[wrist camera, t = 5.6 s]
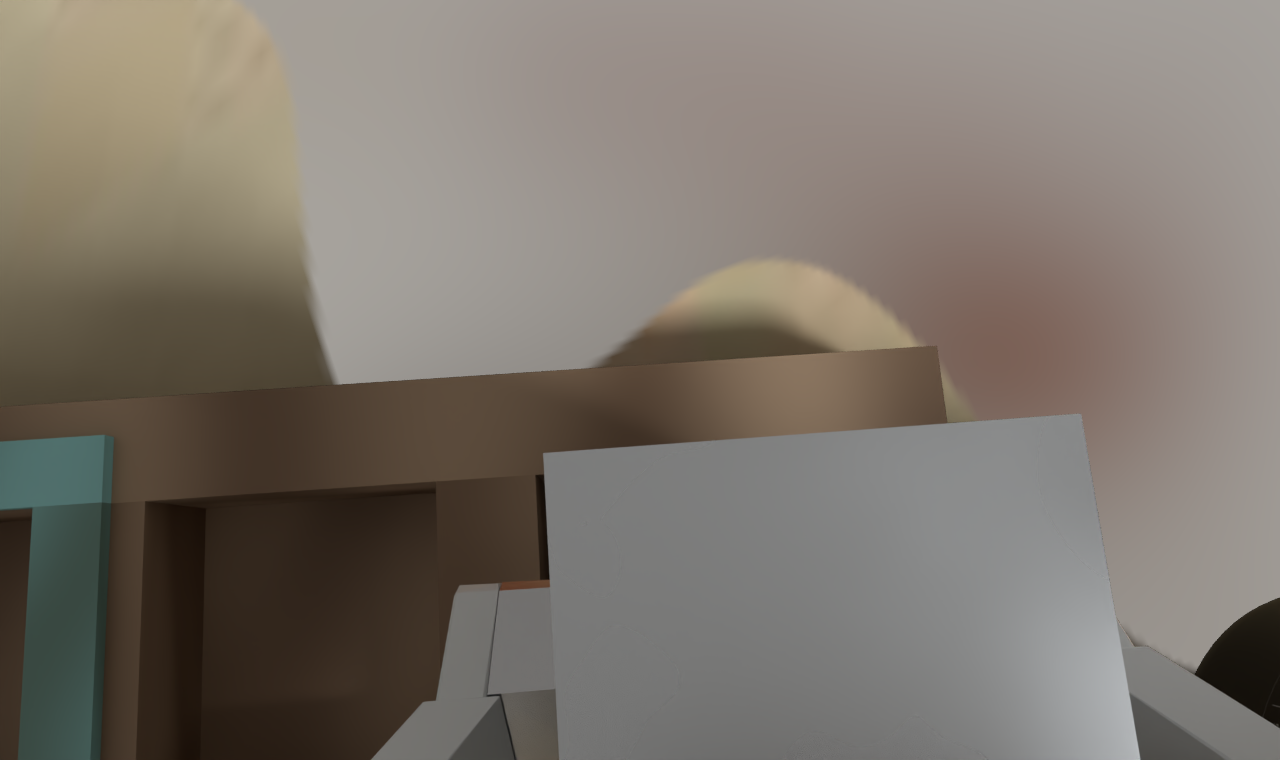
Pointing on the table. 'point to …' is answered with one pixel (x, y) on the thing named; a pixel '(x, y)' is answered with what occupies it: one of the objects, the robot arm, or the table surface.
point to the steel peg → (837, 598)
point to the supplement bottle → (1249, 662)
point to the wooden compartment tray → (326, 537)
